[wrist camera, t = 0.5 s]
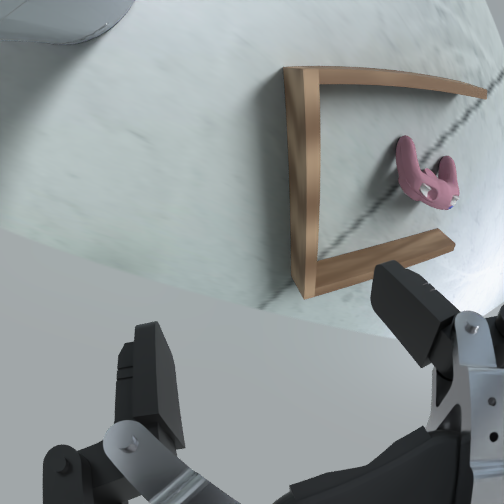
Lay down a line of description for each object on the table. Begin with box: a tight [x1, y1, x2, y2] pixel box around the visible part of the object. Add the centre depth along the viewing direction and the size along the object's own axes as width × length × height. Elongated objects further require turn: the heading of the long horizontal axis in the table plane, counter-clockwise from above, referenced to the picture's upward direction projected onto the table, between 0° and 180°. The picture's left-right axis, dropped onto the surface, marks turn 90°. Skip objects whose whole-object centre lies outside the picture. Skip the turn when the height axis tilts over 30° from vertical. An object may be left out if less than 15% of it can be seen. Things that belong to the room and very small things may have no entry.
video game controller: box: [396, 135, 459, 210], centre depth 28 cm, size 10×5×7 cm, turn 76°
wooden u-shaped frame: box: [283, 66, 487, 300], centre depth 28 cm, size 22×23×4 cm
